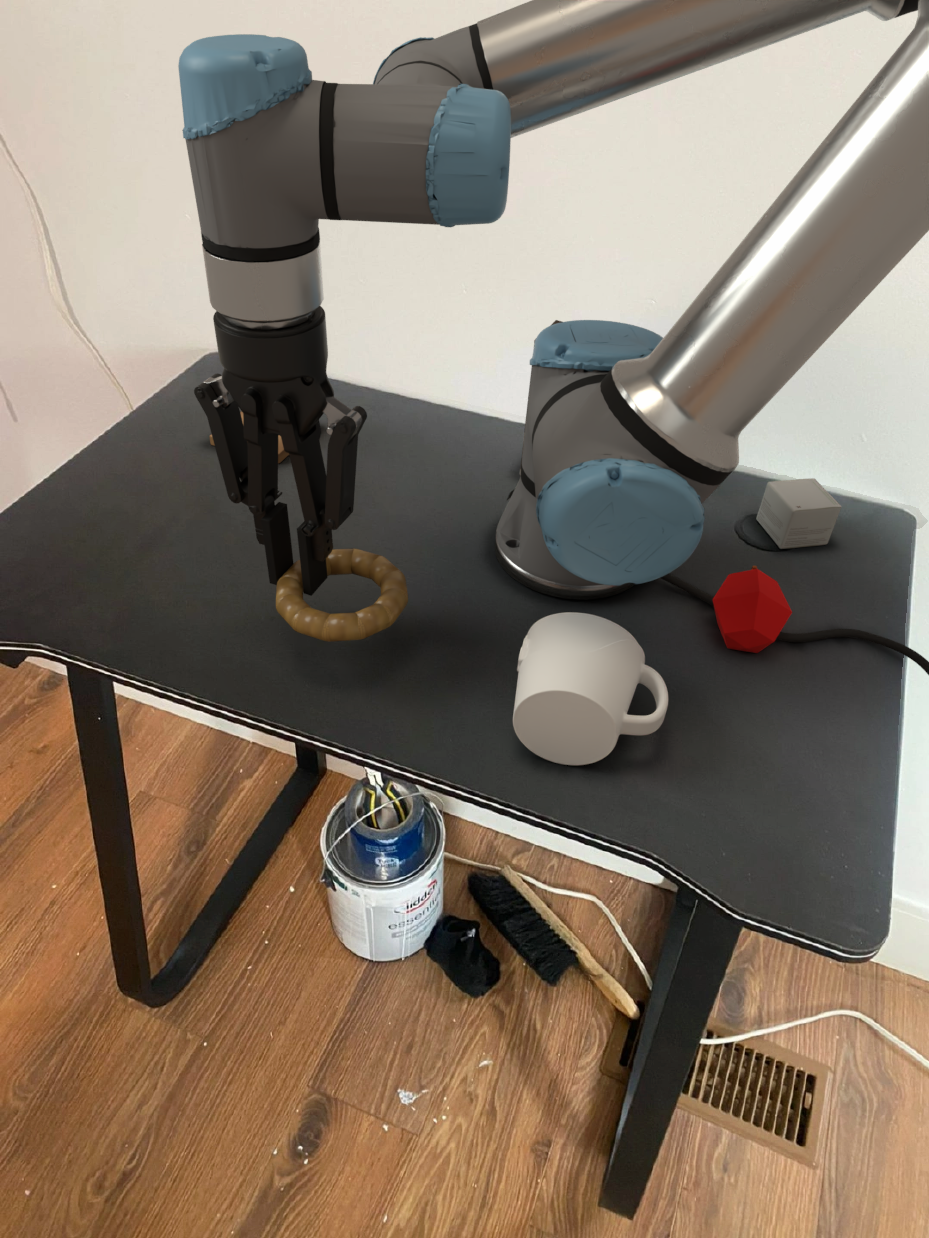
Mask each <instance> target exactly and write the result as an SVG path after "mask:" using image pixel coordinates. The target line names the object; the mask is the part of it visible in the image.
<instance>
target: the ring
mask: <svg viewBox="0 0 929 1238" xmlns="http://www.w3.org/2000/svg"><path fill="white" fill-rule="evenodd" d="M293 563H294V564H293V565H292V566H291V567H290V568H289V569H288V570H287V571H286V572H285V573H284V574H283V576H282V577H281V578H280V579H279V580H278V582H277V585H275V586H276V587H275V588H276V589H275V609H276V612H277V613H278V615H280V616H281V618H282V619H283V620H284V621H285V622H286V623H287V624H288V625H289V626H290V627H291V628H292V629H293V631H295V633H299V634H301V635H304V636H307V637H309V638H314V639H317V640H320V641H323V642H328V643H329V642H330V643H331V642H347V641H361V640H365V639H366V638H369V637H371V636H373V635H375V634H378V633H380V632H382V631H384V630H386V629H388V628H390V627H391V626H393V624H394V623H395V622H396V621H397V619H398V618H399V617H400V615H401V614H402V613H403V611H404V610H405V608H406V607H407V605H408V602H409V594H408V586H407V580H406V576H405V574H404V573H403V571H401V569H399V568H398V567H397V566H396V565H395V564H393V562H391V561H390V560H389V559H388V558H387V557H385V556H384V555H381V554H377V553H373V552H370V551H366V550H362V549H359V548H355V547H354V548H352V547H351V548H335V549H334V548H333V549H332V552H331V553H330V554H329V555H328V557H327V558H326V565H327V577H329V576H339V575H342V576H343V575H355V576H359V577H362V578H365V579H369V580H371V581H372V582H373V583H375V584H376V586H378V587H379V589H380V595H379V596H378V598H377V599H376V601H374V603H372V604H371V605H368V606H366V607H364V608H362V609H360V610H356V611H355V612H340V613H329V612H326V611H323V610H321V609H316V608H314V607H311V606H310V605H309V604H308V603H307V602H306V601H305V600H304V592H303V583H302V574H301V564H300V559H298V560H296V561H295V562H293Z"/></svg>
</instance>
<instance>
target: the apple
mask: <svg viewBox="0 0 929 1238" xmlns="http://www.w3.org/2000/svg"><path fill="white" fill-rule="evenodd" d="M713 597H714V598H713V599H712V600H713V605H714V606H713V609H714V614H715V618H716V623H717V627H718V628H719V630H720V634H721V636H722V639H723V641H724V644H725V646H726V649H729V650H736V651H740V652H741V651H742V652H747V653H753V654H758V653H760V652H761V651H763V650H764V649H766V648H767V647H769V646H771V644H773V643H775V642H776V640H777V639H776V638H777V636H778V635H779V633H780V632H782V631H783V628H784V627H785V625H786V624H787V622H788V620H789V619H790V617H791V615H792V614H793V611H792V609H791V606H790V604H789V602H788V601H787V599H786V597H785V594H784V593H783V590H782V588H781V586H780V584H779V582H778V581H777V580H776V579H774V578H772V577H771V576H769V575H768V574H766V573H764V572H763V571H762V570H761V569H759V568H758V565H752V566H751V568H750V569H749V570H743V571H739V572H733V573H728V575H727V576H726V578H725V579H724V581H723V583H722V584H721V586H720V587H719V589H718V590H717V592H716V593H715V595H714V596H713Z"/></svg>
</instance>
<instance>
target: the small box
mask: <svg viewBox="0 0 929 1238" xmlns="http://www.w3.org/2000/svg"><path fill="white" fill-rule="evenodd" d="M842 508H843V507H842V505H841V504H840V503H839V502H838V501H837V500H836V499H835V498H834V497H833V496H832V495H831V494H830V492H828V490H827V489H825V488H824V486H822V485H821V483H820V482H819V480H817V479H816V478H813V477H812V478H811V477H810V478H798V479H797V478H796V479H787V480H786V479H785V480H773V481H768V482H767V483H766V486H765V490H764V493H763V495H762V499H761V503H760V506H759V509H758V512H757V515H756V519H755V520H756V521H757V522H758V523H759V524H760V526H761V527H762V528H763V529H764V531H765V532H766V533H767V534H768V535H769V537H770V538H771V539H772V541H773V542H774V543H775V545H777V547H778V548H779V549H780V550H783V549H795V548H805V547H816V546H824V545H827V544H828V543H829V542H830V539H831V535H832V533H833V531H834V528H835V526H836V524H837V520H838V518H839V515H840V512H841V509H842Z"/></svg>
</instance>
